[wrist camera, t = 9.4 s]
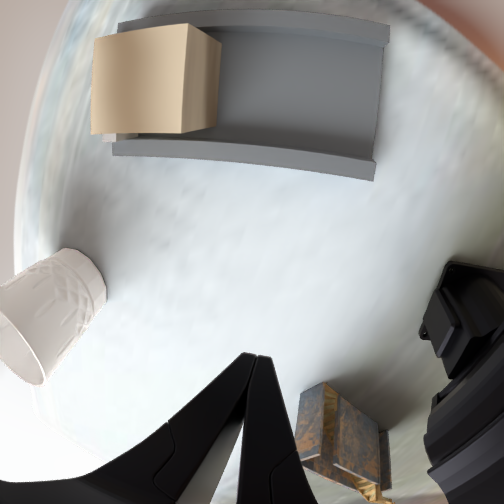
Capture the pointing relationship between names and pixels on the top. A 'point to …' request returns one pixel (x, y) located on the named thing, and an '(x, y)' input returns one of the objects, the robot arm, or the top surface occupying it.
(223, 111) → the chute
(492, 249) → the top surface
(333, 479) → the brown piece
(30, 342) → the white cup
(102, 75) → the birch block
